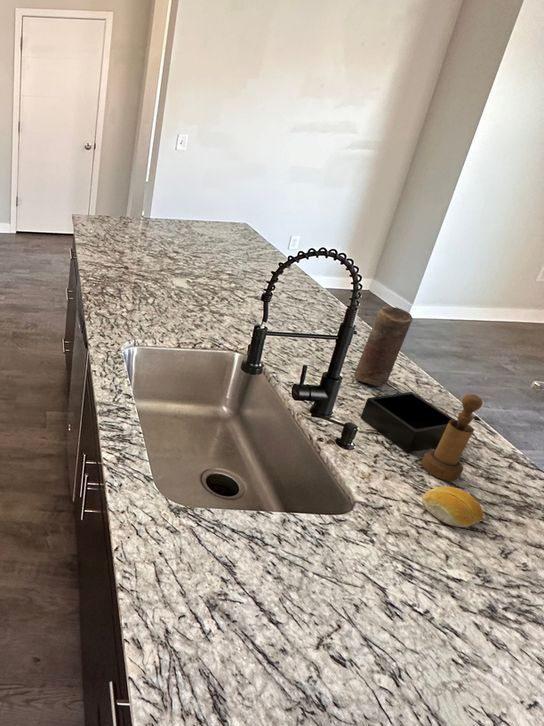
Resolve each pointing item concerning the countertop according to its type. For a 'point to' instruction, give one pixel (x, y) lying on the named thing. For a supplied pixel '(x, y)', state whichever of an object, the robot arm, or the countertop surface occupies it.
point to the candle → (383, 346)
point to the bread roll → (453, 506)
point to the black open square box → (406, 420)
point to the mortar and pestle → (452, 443)
